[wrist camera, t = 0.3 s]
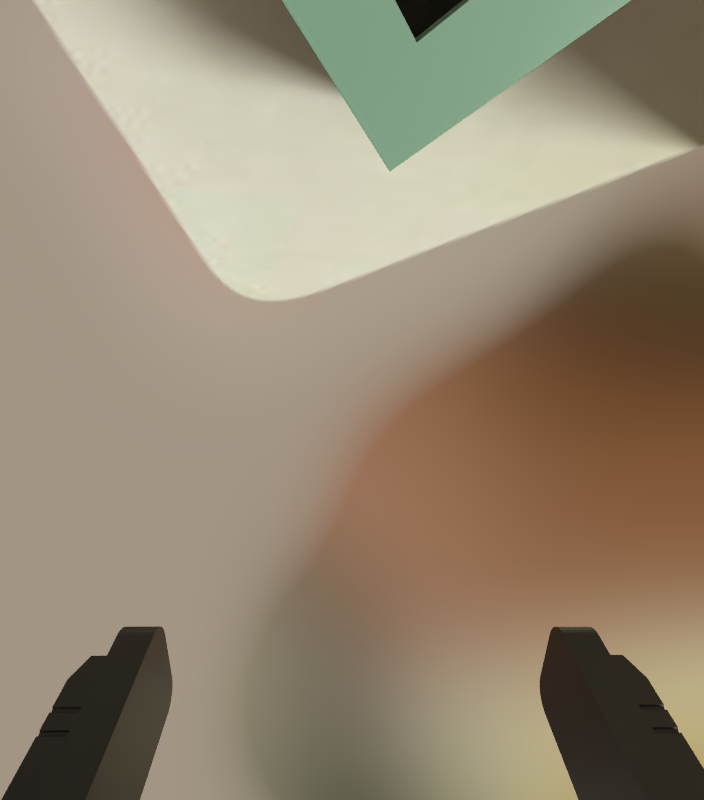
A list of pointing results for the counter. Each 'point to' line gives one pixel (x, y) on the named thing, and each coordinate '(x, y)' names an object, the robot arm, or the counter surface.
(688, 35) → the counter surface
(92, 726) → the robot arm
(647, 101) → the counter surface
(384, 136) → the recycling bin
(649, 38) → the counter surface
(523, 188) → the counter surface
